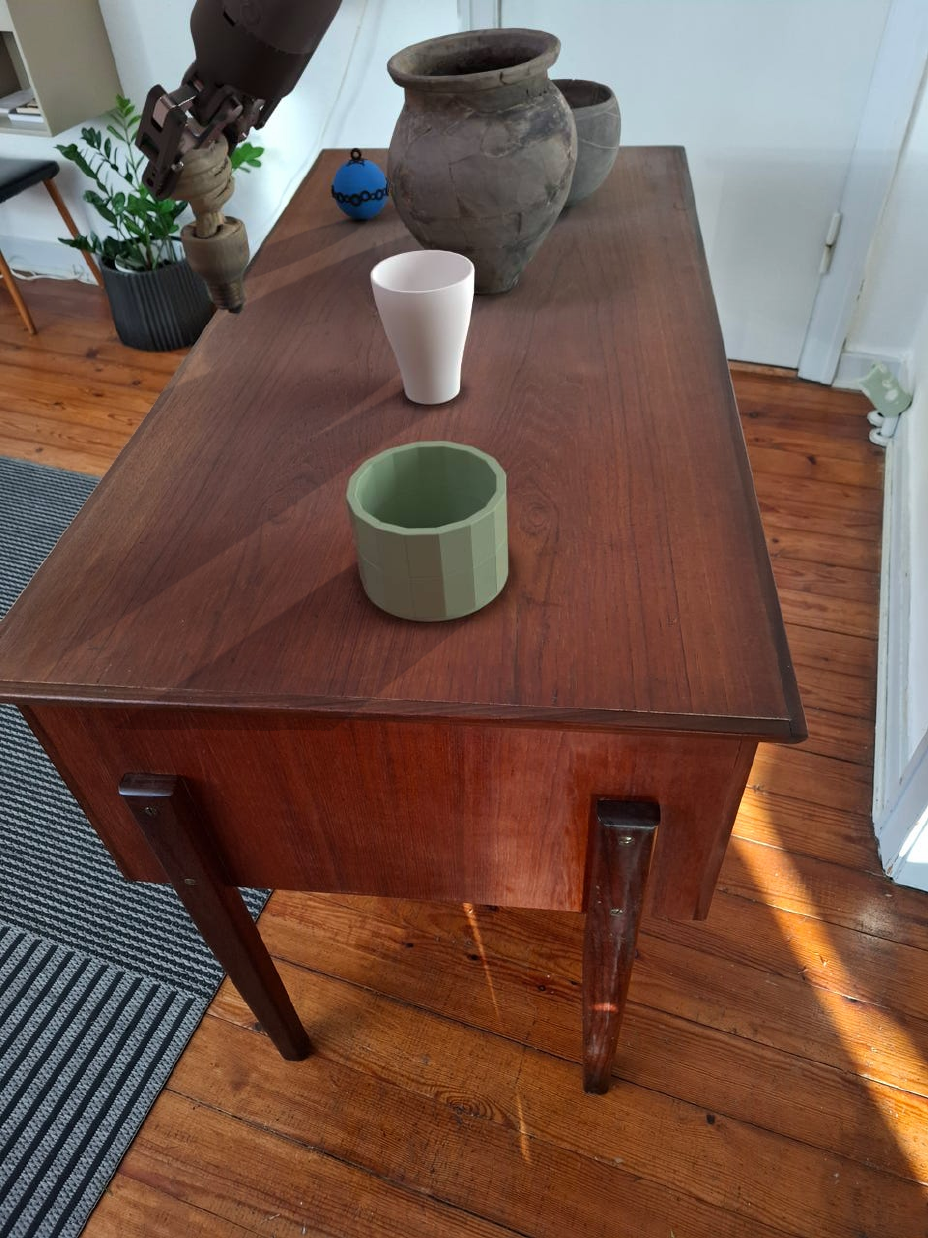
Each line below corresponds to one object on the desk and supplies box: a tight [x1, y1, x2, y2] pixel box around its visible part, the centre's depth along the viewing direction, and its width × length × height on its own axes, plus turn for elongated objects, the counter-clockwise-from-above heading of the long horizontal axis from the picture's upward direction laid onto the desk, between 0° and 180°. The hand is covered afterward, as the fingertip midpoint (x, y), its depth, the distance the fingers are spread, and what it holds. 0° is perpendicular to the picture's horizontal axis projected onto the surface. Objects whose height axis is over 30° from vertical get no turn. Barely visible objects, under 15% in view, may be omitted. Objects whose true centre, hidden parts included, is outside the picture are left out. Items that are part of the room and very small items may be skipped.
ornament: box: [330, 147, 390, 221], centre depth 135 cm, size 9×9×10 cm
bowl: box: [550, 78, 622, 209], centre depth 134 cm, size 21×21×15 cm
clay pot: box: [386, 27, 578, 296], centre depth 107 cm, size 23×25×30 cm
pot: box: [345, 440, 509, 623], centre depth 74 cm, size 13×13×9 cm
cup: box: [370, 249, 475, 405], centre depth 94 cm, size 10×10×14 cm
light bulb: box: [169, 117, 251, 315], centre depth 71 cm, size 6×6×15 cm
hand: (181, 177), depth 69 cm, fingers closed on light bulb, 5 cm apart
